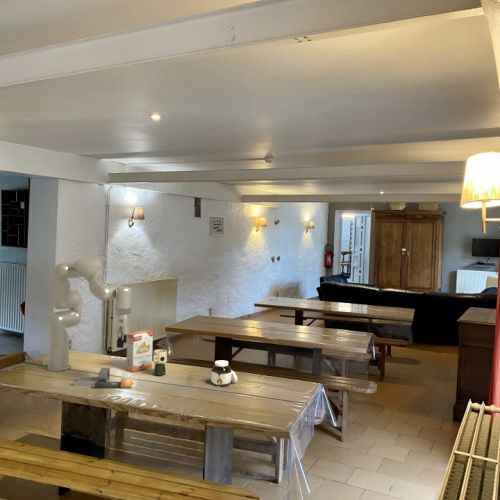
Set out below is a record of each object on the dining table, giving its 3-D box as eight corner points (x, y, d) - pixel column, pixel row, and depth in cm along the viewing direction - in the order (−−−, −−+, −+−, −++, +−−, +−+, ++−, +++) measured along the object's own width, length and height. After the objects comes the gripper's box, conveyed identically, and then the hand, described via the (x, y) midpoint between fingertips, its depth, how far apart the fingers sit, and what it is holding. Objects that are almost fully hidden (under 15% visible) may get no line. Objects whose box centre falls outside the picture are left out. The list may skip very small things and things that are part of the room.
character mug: (158, 378, 256) (159, 353, 256) (148, 376, 259) (148, 352, 259) (171, 373, 266) (171, 349, 265) (160, 371, 269) (161, 347, 268)
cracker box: (133, 372, 265) (133, 334, 264) (125, 370, 268) (126, 333, 268) (152, 367, 276) (153, 331, 275) (145, 365, 279) (146, 329, 279)
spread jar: (208, 385, 247) (209, 362, 247) (220, 379, 257) (220, 357, 257) (229, 389, 242) (229, 365, 241) (240, 383, 252) (240, 360, 251)
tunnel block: (72, 385, 240) (73, 373, 240) (77, 379, 250) (77, 368, 250) (106, 385, 242) (106, 373, 242) (109, 379, 252) (109, 367, 251)
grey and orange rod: (94, 389, 236) (94, 380, 236) (96, 386, 240) (96, 377, 240) (133, 388, 238) (133, 379, 238) (134, 385, 243) (134, 377, 242)
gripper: (128, 314, 235) (126, 349, 236) (133, 308, 252) (131, 341, 253) (112, 314, 234) (111, 349, 235) (118, 308, 251) (117, 340, 252)
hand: (121, 345), depth 244 cm, fingers open, 9 cm apart
